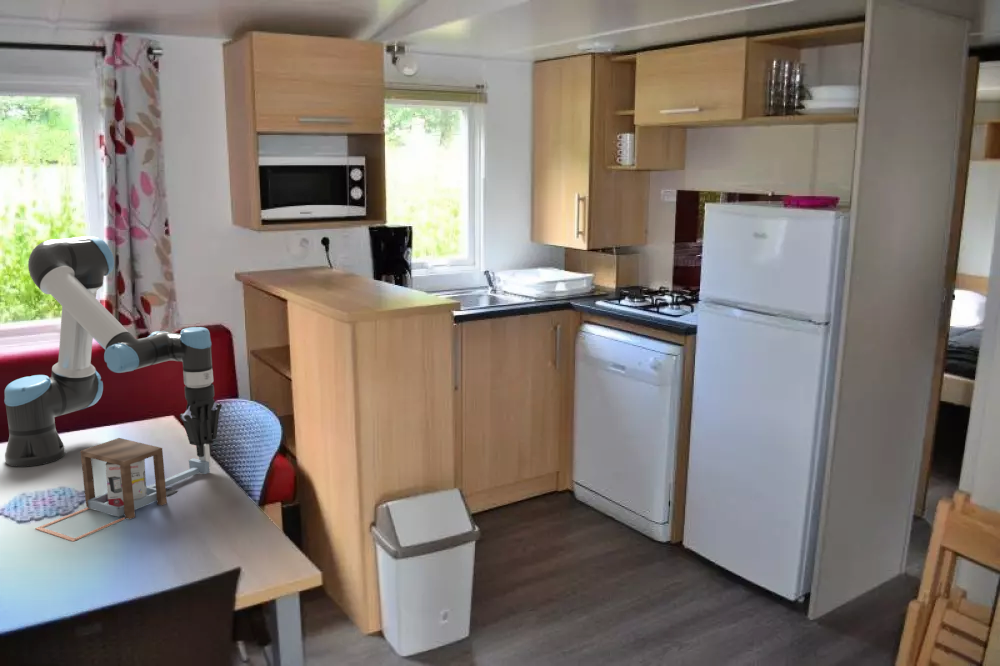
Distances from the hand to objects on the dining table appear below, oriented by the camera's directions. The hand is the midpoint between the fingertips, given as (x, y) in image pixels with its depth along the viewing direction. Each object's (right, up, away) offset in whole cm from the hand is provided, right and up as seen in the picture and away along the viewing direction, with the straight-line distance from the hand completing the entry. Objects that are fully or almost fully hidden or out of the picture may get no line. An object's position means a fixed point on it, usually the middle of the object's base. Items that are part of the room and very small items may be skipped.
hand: (205, 466), depth 227 cm
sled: (-8, -4, -14) cm, 17 cm away
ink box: (-12, -6, -21) cm, 25 cm away
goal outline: (-18, -8, -33) cm, 38 cm away
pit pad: (-7, -5, -14) cm, 16 cm away
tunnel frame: (-12, -6, -22) cm, 26 cm away
